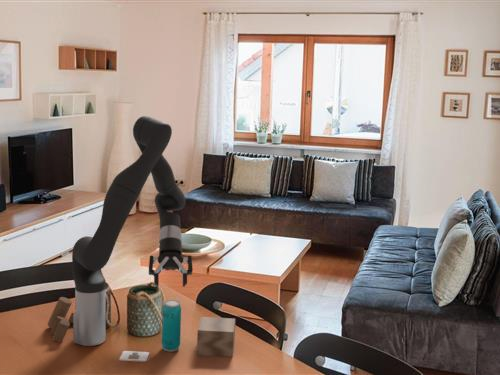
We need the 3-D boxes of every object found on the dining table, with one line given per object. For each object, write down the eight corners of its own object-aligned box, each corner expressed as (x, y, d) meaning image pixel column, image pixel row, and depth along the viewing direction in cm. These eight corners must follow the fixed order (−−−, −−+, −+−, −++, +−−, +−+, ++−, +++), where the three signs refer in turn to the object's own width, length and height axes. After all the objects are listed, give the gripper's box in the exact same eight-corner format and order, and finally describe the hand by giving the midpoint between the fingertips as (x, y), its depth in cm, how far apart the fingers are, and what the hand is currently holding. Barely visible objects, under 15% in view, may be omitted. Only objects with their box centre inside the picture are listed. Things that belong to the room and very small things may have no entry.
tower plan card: (119, 360, 198) (119, 359, 198) (123, 351, 204) (123, 350, 204) (145, 361, 198) (145, 360, 198) (149, 353, 204) (149, 351, 203)
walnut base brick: (196, 354, 204) (197, 330, 202) (200, 340, 215) (201, 316, 213) (232, 356, 204) (233, 332, 202) (234, 342, 214) (235, 318, 213)
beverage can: (165, 343, 211) (166, 298, 208) (182, 346, 209) (184, 301, 207) (158, 350, 205) (159, 304, 203) (176, 353, 204) (177, 307, 201)
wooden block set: (64, 349, 209) (77, 322, 207) (38, 339, 208) (51, 311, 206) (76, 325, 226) (88, 299, 225) (52, 315, 225) (64, 289, 223)
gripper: (149, 236, 220) (148, 280, 210) (192, 236, 222) (193, 280, 213) (148, 247, 226) (148, 291, 217) (190, 247, 228) (192, 290, 219)
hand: (170, 285), depth 215 cm, fingers open, 8 cm apart
